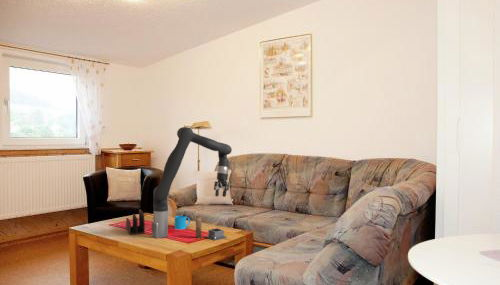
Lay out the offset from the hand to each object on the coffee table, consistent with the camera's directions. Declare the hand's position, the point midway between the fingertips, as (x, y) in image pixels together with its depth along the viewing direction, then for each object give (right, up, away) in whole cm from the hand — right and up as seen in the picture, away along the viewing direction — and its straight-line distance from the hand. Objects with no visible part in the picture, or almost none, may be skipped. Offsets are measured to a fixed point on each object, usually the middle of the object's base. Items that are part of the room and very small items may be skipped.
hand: (220, 196), depth 260 cm
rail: (-13, -25, -14) cm, 31 cm away
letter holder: (-60, -25, +2) cm, 64 cm away
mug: (-28, -25, +13) cm, 40 cm away
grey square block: (-2, -25, -13) cm, 28 cm away
